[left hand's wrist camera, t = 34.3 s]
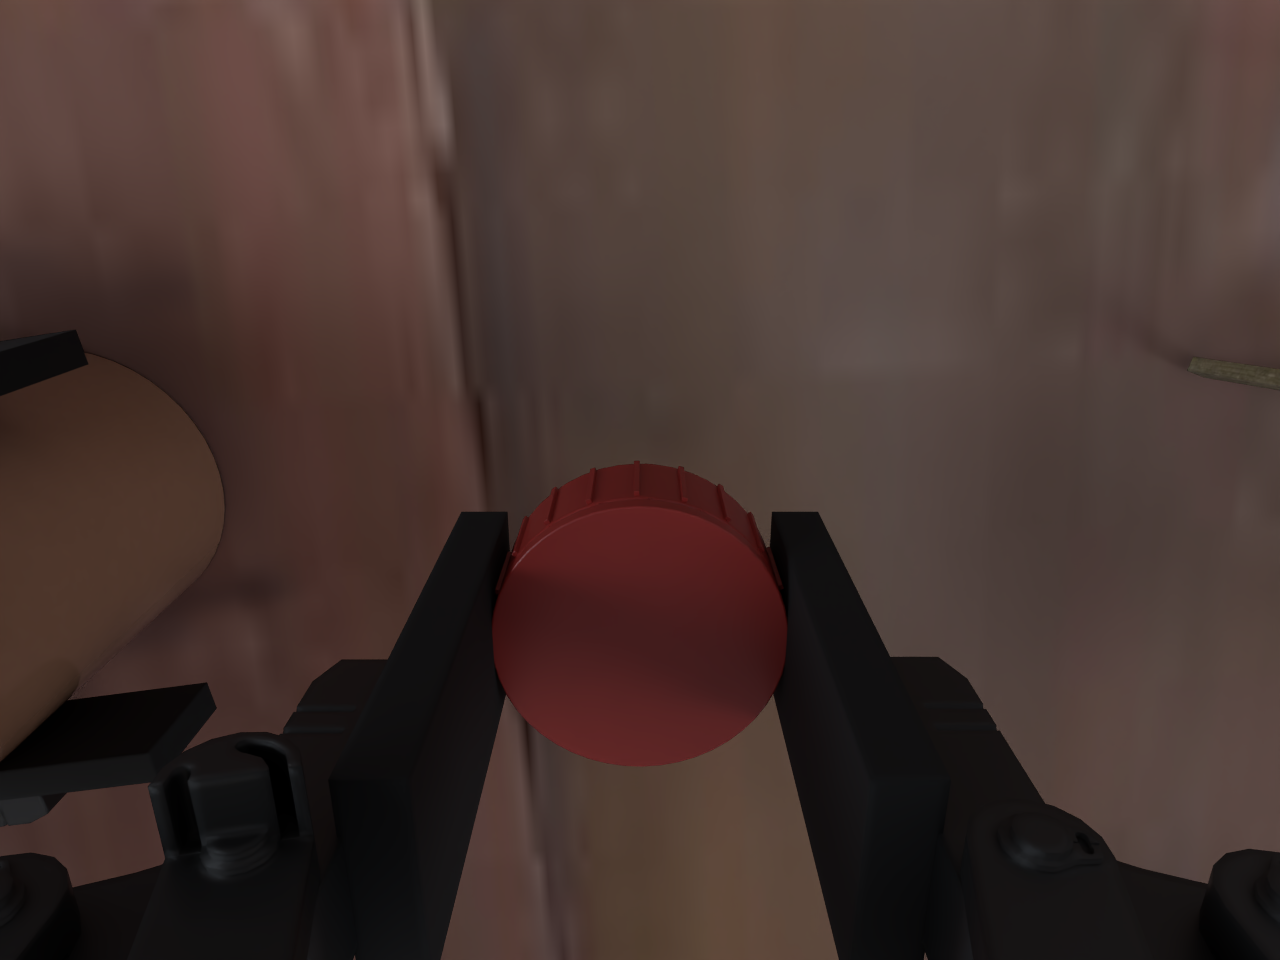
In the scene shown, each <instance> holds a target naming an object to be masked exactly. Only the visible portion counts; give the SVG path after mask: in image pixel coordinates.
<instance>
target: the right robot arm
mask: <svg viewBox="0 0 1280 960" xmlns="http://www.w3.org/2000/svg"><path fill="white" fill-rule="evenodd" d="M85 365H88V361H87V358H86V356H85V353H84V350H83V348H82V345H81V342H80V340H79V337H78V334H77V332H76V330H70V331H64V332H57V333H51V334H44V335H38V336H31V337H25V338H18V339H12V340H5V341H0V396H2V395H5V394H8V393H11V392H14V391H16V390H19V389H22V388H25V387H27V386H30V385H33V384H36V383H38V382H41V381H44V380H47V379H49V378H52V377H55V376H58V375H61V374H63V373H66V372H69V371H72V370H74V369H77V368H80V367H83V366H85ZM215 710H216V705H215V703H214V700H213V697H212V695H211V692H210V689H209V686H208V684H207V683H200V684H192V685H184V686H176V687H168V688H161V689H153V690H145V691H137V692H129V693H122V694H114V695H106V696H98V697H90V698H83V699H75V700H67V701H66V702H64V703H63V704H62V705H61V706H60V707H59V708H58V709H57V710H56V711H55V712H54V713H53V714H52V715H50V716H49V717H48V718H47V719H46V720H45V721H44V722H43V723H42V724H41V725H40V726H39V727H38V728H36V729H35V730H34V731H33V732H32V733H31V734H30V735H29V736H28V737H27V738H26V739H25V740H24V741H23V742H21V743H20V744H19V745H18V746H17V747H16V748H15V749H14V750H13V751H12V752H11V753H10V754H9V755H7V756H6V757H5V758H4V759H3V760H2V761H1V762H0V827H1V826H5V825H7V824H8V825H9V826H10V825H18V824H26V823H31V822H33V821H35V820H37V819H39V818H41V817H42V816H44V815H46V814H48V813H49V812H50V810H51V809H52V808H53V807H54V806H55V805H56V804H57V803H58V802H59V801H60V800H61V799H62V797H63V796H64V795H65V794H66V793H67V792H75V791H83V790H91V789H100V788H108V787H116V786H124V785H132V784H141V783H149V782H152V780H153V779H154V778H155V776H156V775H157V774H158V772H159V771H160V770H161V768H162V767H164V766H165V765H167V764H168V763H169V762H171V761H172V760H173V759H175V758H176V757H177V756H179V755H180V754H181V753H182V752H183V750H184V749H185V748H186V747H187V745H188V744H189V743H190V742H191V740H192V739H193V738H194V736H195V735H196V734H197V733H198V731H199V730H200V729H201V728H202V726H203V725H204V724H205V722H206V721H207V720H208V719H209V717H210V716H211V715H212V714H213V712H214V711H215Z"/></svg>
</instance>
